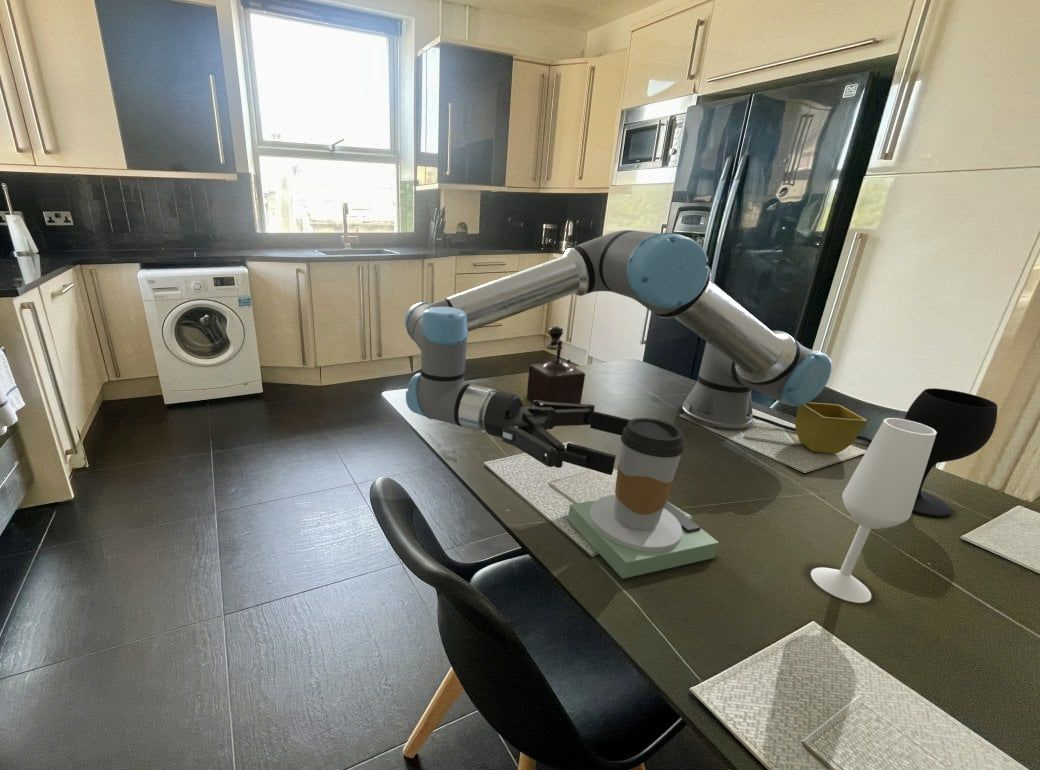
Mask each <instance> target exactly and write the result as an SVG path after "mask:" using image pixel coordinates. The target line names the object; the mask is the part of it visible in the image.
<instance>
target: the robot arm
mask: <svg viewBox="0 0 1040 770" xmlns="http://www.w3.org/2000/svg"><path fill="white" fill-rule="evenodd" d="M708 262H709V259H708V255H707V254H706V251H705V250H704V248H703V246H702V245H701V244H700V243H699V242H697V241H696V240H694V239H692V238H691V237H688V236H685V235H682V234H679V233H675V232H674V233H673V232H660V233H659V232H650V231H641V230H630V229H623V230H618V231H614V232H610V233H607V234H604V235H601V236H599V237H596V238H593V239H590V240H587V241H585V242H582V243H579V244H577V245H574V246H571V247H569V248H567V249H565V250H564V252H563V253H562V256H559V257H557V258H554V259H551V260H549V261H545V262H542V263H541V264H540V263H539V264H537V265H534V266H532V267H529V268H527V269H524V270H521V271H519V272H518V271H517V272H515V273H513V274H510V275H507V276H504V277H502V278H499V279H497V280H496V279H495V280H493V281H490V282H488V283H485V284H482V285H479V286H477V287H474V288H471V289H468V290H466V291H463V292H460V293H456V294H454V295H451V296H449V297H446V298H444V299H440V300H437V301H434V302H426V301H422V302H417V303H415V304H413V305H411V306H410V308H408V310H407V312H406V314H405V317H404V326H405V330H406V332H407V335H408V336H409V337H410V339H411V340H413V342H414V343H415V345H416V346H417V347H418V348H419V350H420V354H421V357H420V359H421V362H420V363H421V364H420V365H421V366H420V367H421V368H420V372H418V373H416V374H414V375H413V376H412V377H411V379H410V380H409V382H408V384H407V390H406V391H405V402H406V405H407V407H408V409H409V410H410V411H411V412H412V413H413V414H417V415H419V416H423V417H425V418H427V419H429V420H436V421H440V422H444V423H448V424H451V425H455V426H458V427H461V428H465V429H468V430H472V431H471V432H474V433H476V432H479V433H484V434H485V433H486V434H487V435H488V436H492V437H495V438H499V439H502V440H501V441H502V442H503V443H505V444H507V445H511V446H513V447H515V448H517V449H518V450H520V451H521V452H523V453H525V454H526V455H528V456H530V457H531V458H533V459H534V460H536V461H538V462H539V463H541V464H542V465H544V466H546V467H549V468H557V469H561V468H563V463H568V464H571V465H574V466H578V467H581V468H584V469H588V470H591V471H595V472H598V473H601V474H605V475H609V476H613V472H614V468H615V464H616V459H617V455H616V454H612V453H609V452H605V451H602V450H598V449H593V448H590V447H587V446H582V445H579V444H575V443H572V442H567V444H566V446H565V445H564V443H562V442H561V441H560V440H559V439H558V438H557V437H555V436H554V435H553V434H551V433H550V432H549V431H548V430H552V429H554V427H570V426H571V427H573V426H589V428H590V429H593V430H597V431H600V432H604V433H609V434H612V435H613V434H614V435H617V436H621V435H622V433H623V429H624V428H625V427H626V426H627V424H628V422H629V421H630V420H631V419H628V418H625V417H620V416H616V415H612V414H607V413H603V412H598V411H595V409H596V406H595V405H594V404H588V403H581V404H573V403H557V402H545V401H540V400H534V401H533V402H532V405H530V406H529V405H527V406H526V405H523V403H522V399H521V397H520V395H518V394H516V393H513V392H508V391H503V390H496V389H495V388H492V387H488V386H482V385H478V384H474V383H469V382H466V381H465V374H466V373H465V372H466V371H465V370H466V360H467V359H466V358H467V357H466V356H467V345H468V344H467V343H468V336H469V332H472V331H475V330H477V329H480V328H483V327H486V326H488V325H491V324H494V323H496V322H499V321H501V320H502V321H503V320H505V319H508V318H511V317H513V316H515V315H518V314H522V313H524V312H526V311H529V310H533V309H535V308H537V307H541V306H543V305H546V304H549V303H551V302H554V301H557V300H559V299H562V298H566V297H568V296H570V295H576V296H579V297H582V296H585V295H588V294H591V293H595V292H610V293H614V294H617V295H621V296H623V297H627V298H630V299H632V300H634V301H636V302H637V303H639V304H640V305H642V306H643V307H644V308H646V310H649V311H650V312H651V313H653V314H654V315H655V316H657V317H658V318H661V319H672V318H674V319H676V320H677V321H678V322H680V323H681V324H682V325H683V326H685V327H686V328H687V329H689V330H690V331H692V332H693V333H694V334H695V335H697V336H698V337H700V338H701V339H702V340H703V341H705V345H704V349H703V353H702V359H701V363H700V367H699V371H698V372H699V373H698V376H697V380H696V383H695V384H694V386H693V388H692V389H691V390H690V392H689V393H688V395H687V396H686V398H685V399H684V400H683V403H682V407H681V413H682V414H683V415H684V416H685V417H687V418H688V419H690V420H691V421H693V422H696V423H698V424H701V425H704V426H708V427H712V428H716V429H723V430H745V429H748V428H750V427H751V425H752V422H753V419H754V420H756V421H757V420H758V421H761V422H764V423H767V424H770V425H773V426H776V427H778V428H780V429H781V428H782V429H785V430H787V431H792V432H795V433H797V432H796V427H792V426H789V425H785V424H782V423H780V422H776V421H774V420H771V419H767V418H765V417H761V416H759V415H755V414H754V413H753V403H752V391H755V392H756V393H759V394H762V395H764V396H766V397H768V398H770V399H773V400H775V401H778V402H780V403H781V404H783V405H788V406H791V407H798V406H802V405H804V404H806V403H808V402H812V401H813V400H815V399H816V398H817V397H818V396H819V395H820V394H821V393H822V392H823V390H824V389H825V387H826V386H827V384H828V382H829V380H830V377H831V373H832V369H833V363H832V360H831V358H830V357H829V356H828V355H827V354H825V353H823V352H821V351H820V350H812V349H810V348H807V347H805V346H803V345H802V344H801V343H800V342H799V341H798V340H797V339H795V338H794V337H793V336H791V335H790V334H789V333H788V332H785V331H783V330H771V329H770V328H769V327H768V326H766V325H765V324H763V322H761V321H760V320H759V319H758V318H756V316H754V315H753V314H751V313H750V312H749V311H748V310H747V309H745V307H743V306H742V305H741V304H740V303H739V302H737V301H736V300H735V299H733V298H732V296H730V295H729V294H727V292H726V291H725V290H723V289H722V288H721V287H719V285H717V284H715V282H714V281H712V280H711V279H712V272H711V268H710V266H709V265H708V264H707V263H708ZM856 439H857V440H862V441H864V442H867V443H868V444H869V445H870V444H871V442H872V440H873V439H871V438H869V437H866V436H864V435H860V434H859V435H858V436H857V438H856ZM856 439H855V440H856Z"/></svg>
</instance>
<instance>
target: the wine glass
mask: <svg viewBox="0 0 1040 770" xmlns="http://www.w3.org/2000/svg"><path fill="white" fill-rule="evenodd" d="M904 420H909V421H913V422H917V423H920V424H923V425H926V426H928V427H931V428H933V429H934V430H935V431H936V432H937V434H936V437H935V440H934V443H933V447H932V450H931V453H930V456H929V459H928V462H927V466H926V469H925V472H924V475H923V478H922V481H921V485H920V488H919V491H918V494H917V497H916V500H915V504H914V507H913V510H912V513H911V514H915V515H919V516H924V517H930V518H947V517H949V516H950V515H951V514H952V509H951V507H950V505H948V504H947V503H946V502H945V501H943V500H942V499H940V498H938V497H936V496H935V495H932V494H931V493H928V492H925V491H923V490H922V488H923V486H924V483H925V480H926V479H927V477H928V475H929V473H930V472H931V470H932V469H933V467H934V466H935V465H937V464H940V463H945V462H946V463H947V462H952V461H957V460H961V459H965V458H966V457H969V456H971V455H973V454H975V453H977V452H978V451H979V450H981V449H982V448H983V447H984V446H985V445H986V444H987V443H988V442H989V441H990V438H991V437H992V435H993V433H994V431H995V427H996V424H997V420H998V404H997V403H996V402H995V401H992V400H990V399H987V398H985V397H982V396H979V395H975V394H971V393H968V392H965V391H964V392H963V391H958V390H952V389H947V388H946V389H945V388H934V387H933V388H931V387H930V388H925V389H924V390H922V392H920V394H919V395H918V396H917V397H915V399H914V400H913V402H912V403H911V404H910V406H909V408H908V410H907V411H906V413H905V416H904Z"/></svg>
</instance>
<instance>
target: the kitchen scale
mask: <svg viewBox="0 0 1040 770" xmlns="http://www.w3.org/2000/svg"><path fill="white" fill-rule="evenodd" d="M614 502H615V494H612V495H605V496H603V497H600V498H598V499H596V500H595V499H594V500H590V501H584V502H577V503H572V504H569V508H568V513H567V514H568V515H567V520H568V521H569V523H571V525H572V526H573V527H574V528H575V529H576V530H577V531H578V532H579V534H581V535H582V537H583V538H584V540H586V541H587V542H588V543H589V544H590V546H592V548H593V549H595V551H596V552H597V553H598V554H599V555H600V556H601V557H602V558H603V559H604V561H605V562H606V563H607V564H608V565H609V566H610V567H611V568H612V569H613V571H615V573H616V574H617V575H618V576H619V577H620V578H621V579H622V580H623V579H624V580H625V579H628V578H632V577H636V576H637V577H638V576H642V575H645V574H650V573H654V572H655V573H656V572H659V571H664V570H667V569H672V568H676V567H680V566H685V565H690V564H693V563H699V562H702V561H706V560H711V559H715V557H716V554H717V550H718V547H719V544H720V542H719V541H718V540H717V539H716V538H714V537H713V536H711V535H710V534H709V533H708V532H706V530H704V529H702V528H701V526H699V524H697V523H696V522H694V520H692V519H690V518H689V517H688V516H687V515H685V514H684V513H682V512H681V511H680V510H679V509H678V508H676V507H675V506H673V505H672V504H671V503H669V502H668V501H666V504H665V506H664V508H663V511H662V514H661V517H660V520H659V523H658V524H657V525H656V526H655V527H654V528H653V529H651V530H647V531H639V530H634V529H631V528H628V527H626V526H624V525H622V524H621V523H620V522H619V521H618V520H617V519H616V517H615V514H614V511H613V510H614Z"/></svg>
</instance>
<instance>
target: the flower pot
mask: <svg viewBox="0 0 1040 770" xmlns="http://www.w3.org/2000/svg"><path fill="white" fill-rule="evenodd" d="M867 421H868V420H867V418H865V417H862V416H860V415H859V414H857V413H855V412H853V411H851V410H850V409H848V408H846V407H844V406H843V405H841V404H835V403H825V402H812V401H810V402H808V403H806V404H804V405H802V406H797V411H796V416H795V423H794V424H795V428H796V432H795V433H796V436H797V438H798V441H799V443H801V444H802V445H804V446H805V447H806V448H807V449H809V450H810V451H811V452H813V453H814V452H815V453H823V454H824V453H826V454H839V453H841V452H843V451H844V450H846V449H847V448H848V447H850V446H851V445H852V444H853V443H854V442H855V440H856V438H857V436H858V435H859V436H860V433H861V432H862V430H863V428H864V427H865V425H866V423H867Z"/></svg>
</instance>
